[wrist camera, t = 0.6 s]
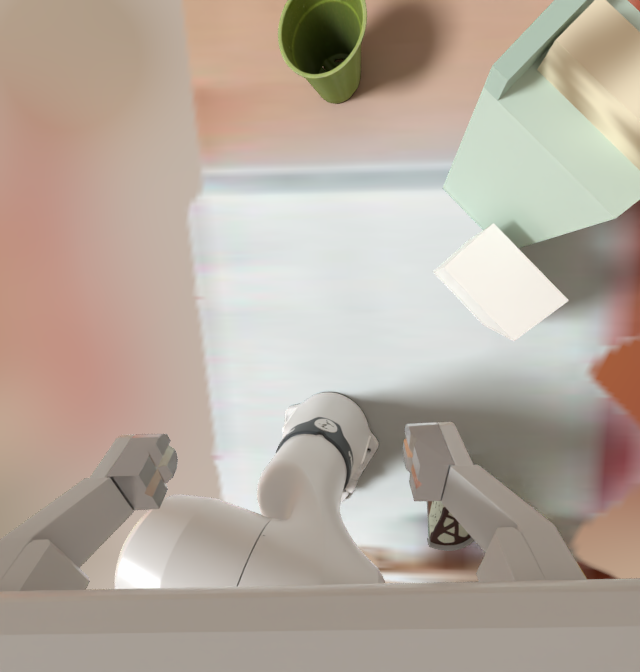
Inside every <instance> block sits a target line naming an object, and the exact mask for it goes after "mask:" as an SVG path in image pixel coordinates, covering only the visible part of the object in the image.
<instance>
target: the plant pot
mask: <svg viewBox="0 0 640 672" xmlns="http://www.w3.org/2000/svg"><path fill="white" fill-rule="evenodd" d="M366 23H367V9H366V3H365V0H288V1H287V2H286V4H285V6H284V9H283V11H282V14H281V17H280V22H279V28H278V42H279V48H280V51H281V54H282V57H283V59H284V61H285V62H286V64H287V65H288V66H289V67H290V68H291V69H292V70H293V71H294V72H295V73H297V74H298V75H300V76H302V77H304V78H306V79H307V80H308V82H309V83H310V84H311V85H312V86H313V87H314V89H315V90H316V91H317V92H318V93H319V95H320V96H321V97H322V98H323V99H324V100H326V101H327V102H330V103H335V104H336V103H341V102H344V101H346V100H348V99H349V98H350V97H351V96H352V94H353V93H354V92H355V91H356V89H357V88H358V85H359V82H360V77H361V43H362V39H363V37H364V33H365V29H366ZM337 59H344V61H343V62H342V61H341V62H335V61H334V60H337ZM323 67H324V68H325V69H326V71H325V70H324V69H323Z"/></svg>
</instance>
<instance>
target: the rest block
mask: <svg viewBox="0 0 640 672" xmlns="http://www.w3.org/2000/svg"><path fill="white" fill-rule="evenodd" d="M433 273H434V274H435V275H436V276H437V277H438V278H439V279H440V280H441V281H442V282H443V283H444V284H445V285H446V286H447V287H448V289H449V290H450V291H451V292H452V293H453V294H454V295H455V296H456V297H457V298H458V299H459V300H460V301H461V302H462V303H463V304H464V305H465V306H466V307H467V309H468V310H469V311H470V312H471V313H472V314H473V315H474V316H475V317H476V318H477V319H478V320H479V321H480V322H481V323H482V324H483V325H484V326H486V327H488V328H489V329H491V330H493V331H495V332H497V333H499V334H501V335H503V336H505V337H507V338H509V339H510V340H512V341H515V340H516V339H518V338H519V337H521V336H522V335H523V334H525V333H526V332H527V331H529V330H530V329H531V328H533V327H534V326H535V325H537V324H538V323H539V322H541V321H542V320H543V319H545V318H546V317H548V316H549V315H550V314H552V313H553V312H554V311H556V310H557V309H558V308H560V307H561V306H562V305H564V304H565V303H566V302H568V301H569V300H568V299H567V298H566V297H565V296H564V295H563V294H562V293H561V292H560V291H559V290H558V289H557V288H556V287H555V286H554V285H553V284H552V283H551V282H550V281H549V280H548V278H547V277H546V276H545V275H544V274H543V273H542V272H541V271H540V270H539V269H538V268H537V267H536V266H535V265H534V264H533V263H532V262H531V261H530V260H529V259H528V258H527V257H526V256H525V255H524V254H523V253H522V252H521V251H520V250H519V249H518V248H517V247H516V246H515V245H514V244H513V243H512V242H511V240H510V239H509V238H508V237H507V236H506V235H505V234H504V233H503V232H502V231H501V230H500V229H499V228H498V227H497V226H496V225H495V224H494V223H493V224H492V225H490V226H489V227H487V228H486V229H484V230H483V231H481V232H480V233H478V234H477V235H475V236H474V237H472V238H471V239H469V240H468V241H467V242H466V243H464V244H463V245H462V246H461V247H460V248H459V249H458V250H457V251H455V252H454V253H453V254H452V255H451V256H450V257H449V258H448V259H446V260H445V261H444V262H443V263H442V264H441V265H440V266H439V267H437V268H436V269H435V270H434V271H433Z"/></svg>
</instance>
